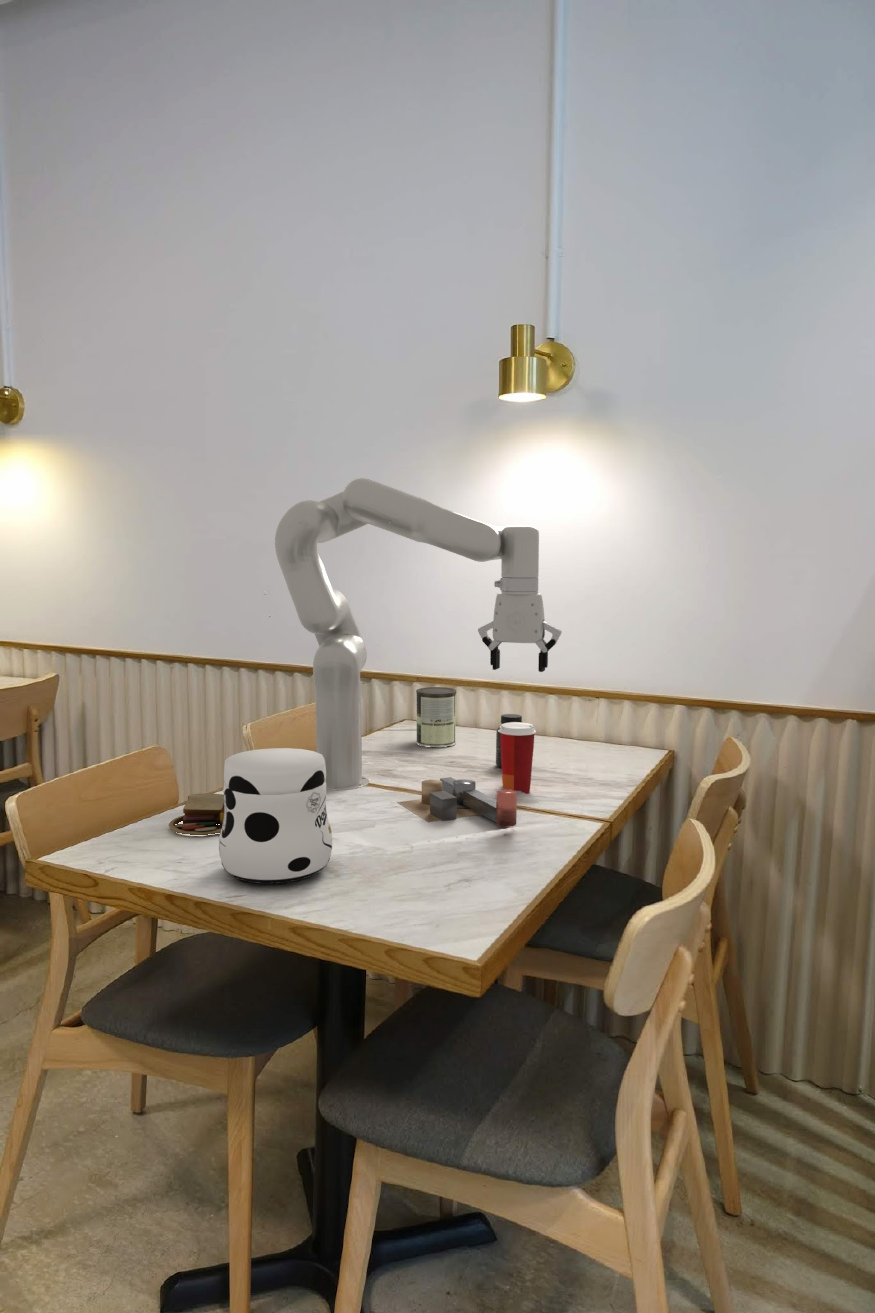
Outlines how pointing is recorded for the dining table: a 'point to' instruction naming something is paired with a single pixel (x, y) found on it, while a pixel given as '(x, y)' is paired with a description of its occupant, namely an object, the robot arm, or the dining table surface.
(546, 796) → the dining table surface
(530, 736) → the paper cup
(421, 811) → the base
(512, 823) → the lever
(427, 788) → the cylinder
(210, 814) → the toy sandwich meal
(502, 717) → the supplement bottle
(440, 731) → the coffee can
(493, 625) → the robot arm
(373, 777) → the dining table surface
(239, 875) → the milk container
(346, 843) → the dining table surface
